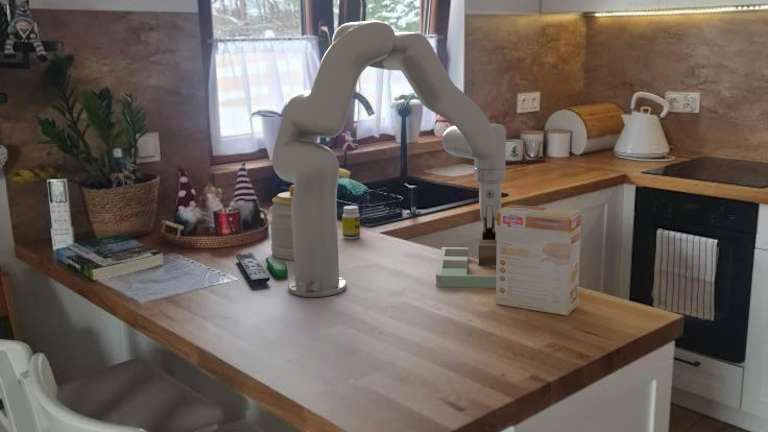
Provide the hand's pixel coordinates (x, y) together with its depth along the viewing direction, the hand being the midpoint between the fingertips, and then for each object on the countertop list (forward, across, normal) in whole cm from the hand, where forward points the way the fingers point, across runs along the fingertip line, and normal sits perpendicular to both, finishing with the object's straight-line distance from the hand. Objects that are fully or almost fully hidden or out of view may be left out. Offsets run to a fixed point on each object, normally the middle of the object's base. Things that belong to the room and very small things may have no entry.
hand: (488, 246), depth 190 cm
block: (+1, -9, 0) cm, 10 cm away
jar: (+2, -4, +48) cm, 48 cm away
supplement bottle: (+2, +13, +37) cm, 39 cm away
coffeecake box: (+2, -39, -9) cm, 40 cm away
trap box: (+1, -17, +3) cm, 17 cm away
